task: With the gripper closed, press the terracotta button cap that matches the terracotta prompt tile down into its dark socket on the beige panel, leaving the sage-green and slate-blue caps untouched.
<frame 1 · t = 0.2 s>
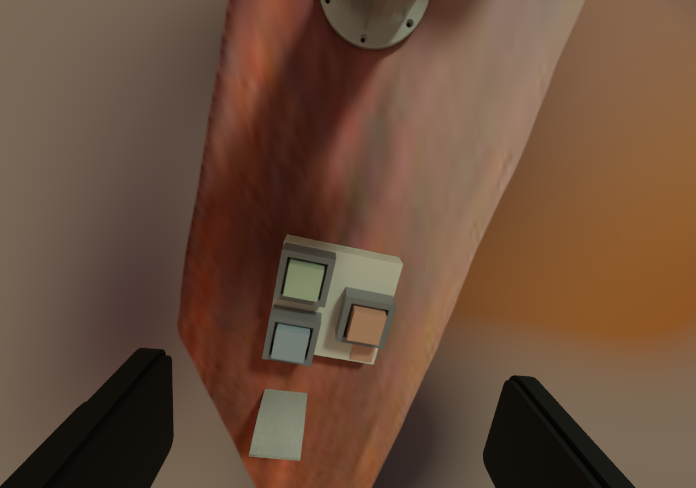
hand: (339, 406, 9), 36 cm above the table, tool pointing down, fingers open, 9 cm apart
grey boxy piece: (285, 399, 53), on the table
sage button: (304, 279, 40), point 6 cm above the table, slide at 0.0 cm
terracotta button: (365, 323, 42), point 6 cm above the table, slide at 0.0 cm
button panel: (331, 296, 47), on the table
slate button: (291, 341, 42), point 6 cm above the table, slide at 0.0 cm
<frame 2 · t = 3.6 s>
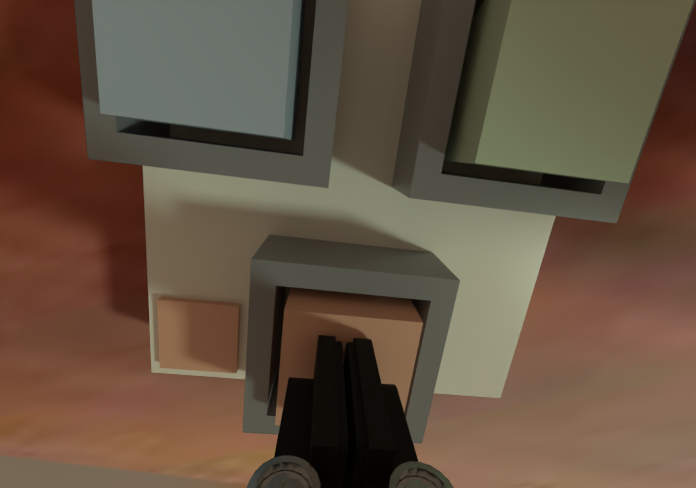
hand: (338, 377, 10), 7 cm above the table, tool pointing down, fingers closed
sage button: (547, 93, 9), point 6 cm above the table, slide at 0.0 cm
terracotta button: (344, 353, 11), point 6 cm above the table, slide at 0.4 cm, touching gripper
button panel: (352, 202, 16), on the table
slate button: (213, 42, 8), point 6 cm above the table, slide at 0.0 cm
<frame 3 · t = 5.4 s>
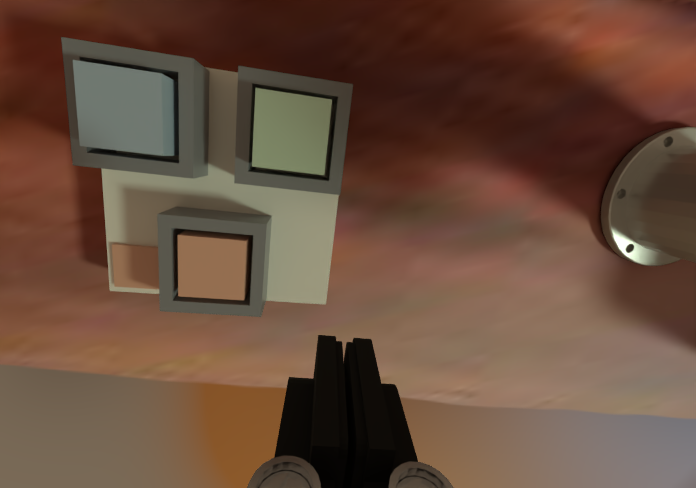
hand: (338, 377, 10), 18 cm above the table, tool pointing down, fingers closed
sage button: (292, 134, 20), point 6 cm above the table, slide at 0.0 cm
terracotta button: (217, 263, 22), point 5 cm above the table, slide at 1.1 cm
button panel: (234, 189, 26), on the table
slate button: (131, 112, 18), point 6 cm above the table, slide at 0.0 cm
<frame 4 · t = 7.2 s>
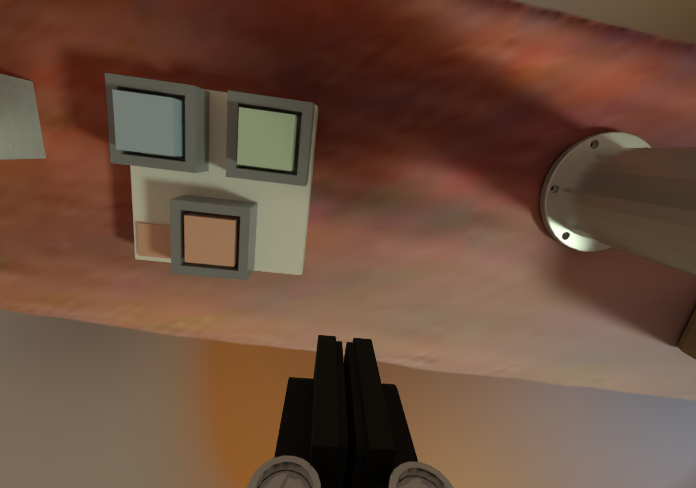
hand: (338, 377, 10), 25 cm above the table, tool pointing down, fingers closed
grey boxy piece: (20, 119, 30), on the table
sage button: (268, 140, 26), point 6 cm above the table, slide at 0.0 cm
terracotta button: (214, 238, 29), point 5 cm above the table, slide at 1.1 cm
button panel: (231, 182, 33), on the table
slate button: (152, 125, 25), point 6 cm above the table, slide at 0.0 cm
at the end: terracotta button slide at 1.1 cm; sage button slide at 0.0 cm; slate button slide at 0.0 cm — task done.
